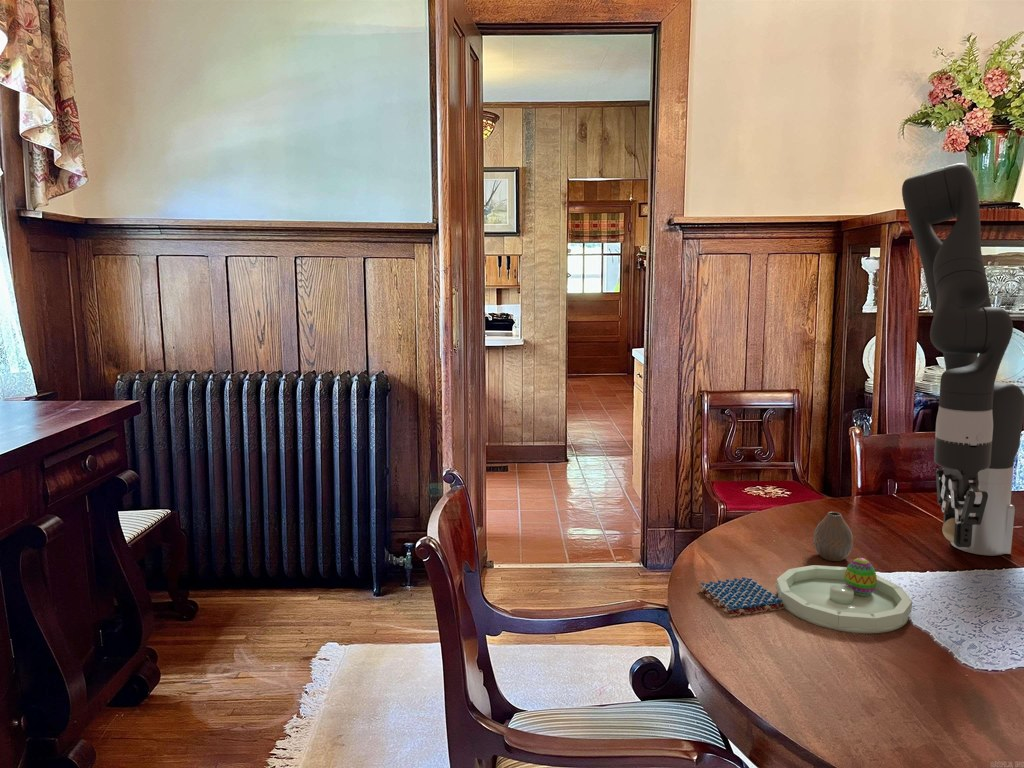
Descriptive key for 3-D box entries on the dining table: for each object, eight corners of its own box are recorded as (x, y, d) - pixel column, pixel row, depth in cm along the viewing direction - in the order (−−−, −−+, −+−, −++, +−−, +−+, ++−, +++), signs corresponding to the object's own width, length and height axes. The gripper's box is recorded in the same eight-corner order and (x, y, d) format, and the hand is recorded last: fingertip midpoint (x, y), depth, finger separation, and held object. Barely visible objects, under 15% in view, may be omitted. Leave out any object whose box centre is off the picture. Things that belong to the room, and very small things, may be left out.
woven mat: (730, 620, 115) (730, 609, 115) (697, 593, 125) (697, 581, 125) (787, 612, 117) (787, 601, 117) (750, 586, 128) (750, 575, 127)
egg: (838, 591, 122) (840, 557, 121) (853, 583, 125) (854, 550, 124) (866, 601, 118) (868, 566, 117) (881, 593, 121) (883, 559, 120)
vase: (856, 565, 134) (858, 520, 133) (816, 563, 136) (819, 518, 135) (846, 551, 141) (849, 508, 140) (809, 549, 143) (811, 507, 141)
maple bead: (964, 538, 116) (966, 514, 115) (975, 547, 112) (977, 523, 112) (937, 537, 117) (939, 513, 116) (947, 546, 113) (948, 522, 112)
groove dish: (887, 584, 126) (888, 569, 126) (927, 638, 107) (928, 622, 107) (770, 576, 130) (771, 562, 130) (788, 627, 111) (788, 611, 111)
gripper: (920, 426, 119) (914, 525, 122) (955, 446, 106) (948, 557, 108) (970, 426, 118) (963, 526, 121) (1012, 447, 104) (1003, 559, 107)
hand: (956, 540), depth 114 cm, fingers closed on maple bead, 4 cm apart
